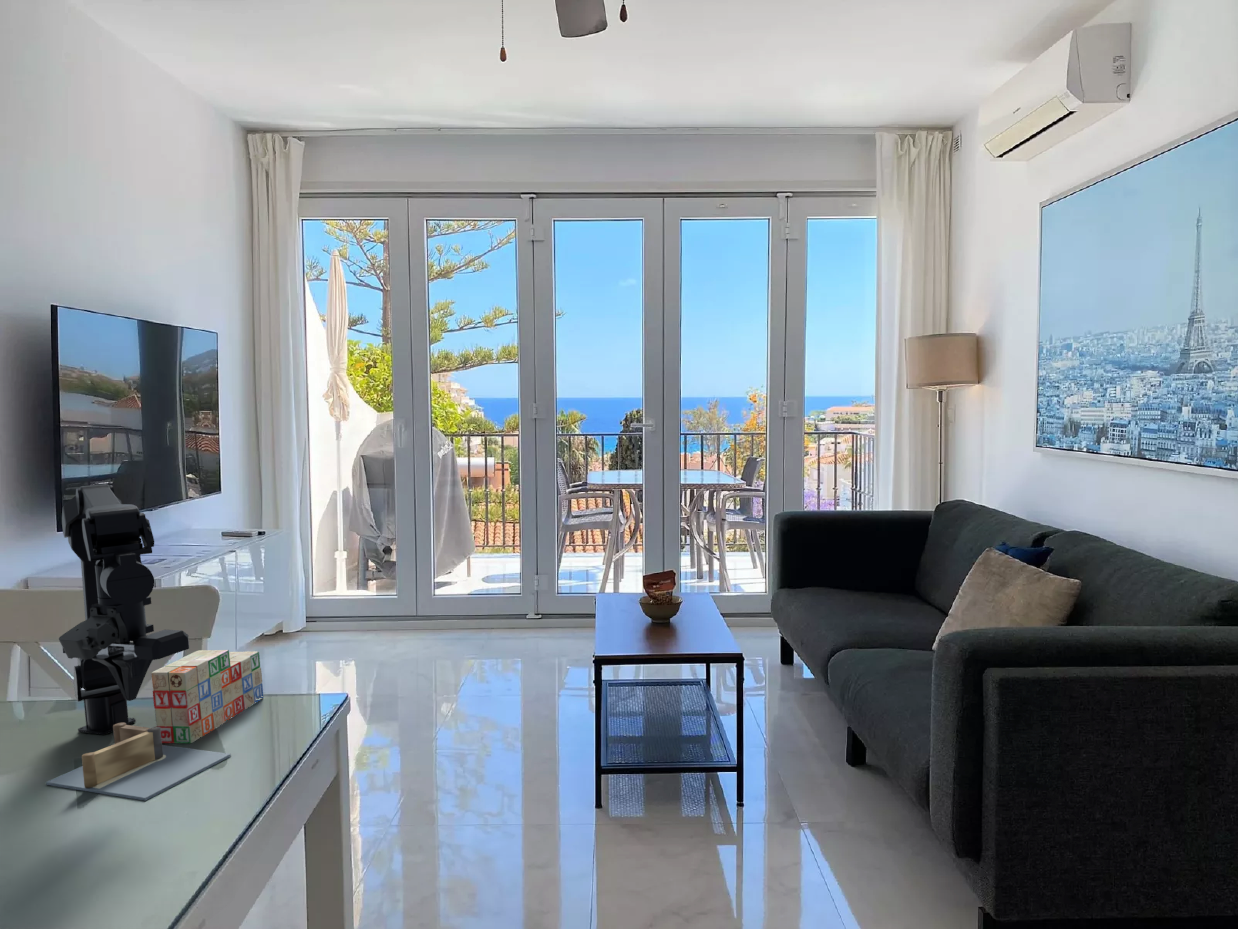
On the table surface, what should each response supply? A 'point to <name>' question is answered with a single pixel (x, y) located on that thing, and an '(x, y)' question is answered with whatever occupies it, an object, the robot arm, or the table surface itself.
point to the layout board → (148, 774)
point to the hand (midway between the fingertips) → (130, 699)
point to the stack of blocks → (204, 692)
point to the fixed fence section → (126, 731)
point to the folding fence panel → (121, 757)
